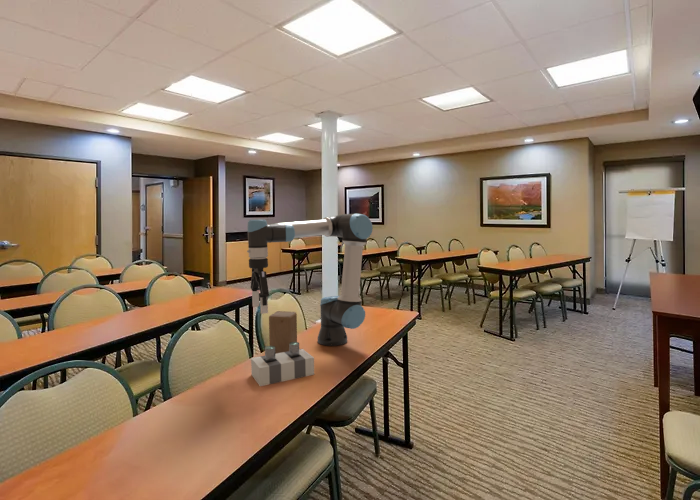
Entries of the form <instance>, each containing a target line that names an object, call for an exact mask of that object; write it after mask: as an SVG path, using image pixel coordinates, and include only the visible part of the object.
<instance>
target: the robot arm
mask: <svg viewBox="0 0 700 500" xmlns="http://www.w3.org/2000/svg"><path fill="white" fill-rule="evenodd" d="M373 227H374V226H373V223H372V221H371V219H370V218H369V217H368V216H367V215H366V214H362V213H344V214H337V215H332V216H327V217H324V218H323V219H314V220H313V219H312V220H301V221H300V220H299V221H287V222H276V223H275V222H274V223H268V222H267V220H266V219H249V220H248V221H247V230H246V231H247V242H248V243H247V245H248V246H247V248H248V250H247V251H246V253H247V254H248V258H249V259H248V268H250V269H251V280H250V289H251V295H252V296H251V297H252V298H251V299H252V307H253V308H254V307H256V308H257V307H260V314H263V315H264V314H268V313H269V309H268V308H269V304H268V302H269V301H268V297H269V296H270V292H269V285H268V279H267V271H264V269H265V268H268V267H269V259H268V256H269V255H268V254H269V251H268V250H269V249H268V248H269V247H268V244H269V243H287V242H293V241H294V239H297V238H298V239H299V238H309V237H318V236H325V237H338V238H342V241H341V242H342V243H343V244H344V251H343V254H344V255H343V256H344V257H343V264H342V265H343V266H342V267H343V268H342V277H341V287H340V288H341V290H340V295H332V296H324V297H322V298H321V299H320V305H319V306H320V329H319V330H318V331H319V332H318V335H317V343H318V344H319V345H322V346H327V347H328V346H329V347H330V346H331V347H337V346H343V345H346V343H348V334H347V332H346V329H350V330H354V329H355V330H356V329H357V328H359V327H361V325H362V324H363V323H364V321H365V319H366V310H365V309H364V307H363V306H362V301H363V300H362V299H361V298H360V287H361V286H360V284H361V273H362V260H363V251H364V249H363V248H364V246H365V245H366V244H367V242H368V238H369V237H370V236H371V235H372V233H373Z"/></svg>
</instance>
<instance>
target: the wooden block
mask: <svg viewBox="0 0 700 500" xmlns="http://www.w3.org/2000/svg"><path fill="white" fill-rule="evenodd" d="M297 316H298V315H297V312H296V311H283V310H278V311H276V312H273V313H272V314H270V315H269V316H268V331H269V333H268V336H269V337H268V340H269V346H275V354H276V353H282V352H287V351H289V343H291V342H298V329H297V328H298V325H297V324H298V321H297Z"/></svg>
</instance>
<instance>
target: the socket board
mask: <svg viewBox="0 0 700 500" xmlns="http://www.w3.org/2000/svg"><path fill="white" fill-rule="evenodd" d="M275 358H276V361H274V362H269V363H266V362H265V355H260V356H255V357H251V359H250V361H251V362H250V363H251V364H250V365H251V369H250V370H251V377H252V378H254V379H253V380H255V382H256V383H257V384H258V387H263V386H264V387H265V386H268V385H272V384H277V383H281V382H286V381H290V380H295V379H299V378H305V377H309V376H314V375H315V357H314V356H313V355H311V354H310V353H309V352H308V351H306V350H305V349H304V348H301V349H300V348H299V357H295V358H290V357H289V351H287V352H282V353H276V354H275Z"/></svg>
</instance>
